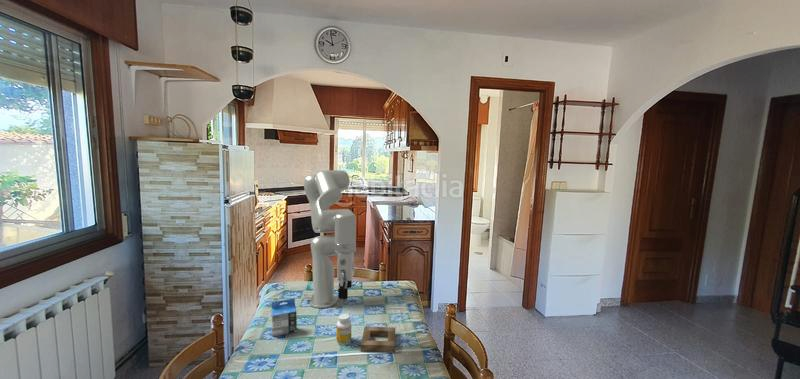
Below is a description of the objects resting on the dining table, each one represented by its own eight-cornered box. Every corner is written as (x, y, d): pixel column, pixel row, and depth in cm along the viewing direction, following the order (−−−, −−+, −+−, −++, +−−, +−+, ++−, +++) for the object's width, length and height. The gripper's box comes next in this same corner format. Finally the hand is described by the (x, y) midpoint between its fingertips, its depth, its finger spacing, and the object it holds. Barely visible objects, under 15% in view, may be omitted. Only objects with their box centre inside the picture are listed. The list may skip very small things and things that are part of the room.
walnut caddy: (360, 351, 115) (360, 344, 115) (364, 332, 127) (364, 326, 126) (394, 352, 115) (394, 345, 115) (395, 333, 127) (395, 327, 126)
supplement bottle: (337, 337, 123) (337, 312, 122) (351, 336, 124) (351, 312, 123) (335, 345, 118) (335, 320, 117) (350, 345, 118) (350, 319, 117)
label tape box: (272, 337, 122) (271, 306, 121) (271, 332, 126) (271, 301, 124) (296, 332, 126) (296, 302, 125) (295, 327, 130) (295, 297, 128)
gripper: (352, 254, 109) (352, 303, 110) (358, 241, 126) (358, 283, 127) (329, 254, 108) (330, 303, 110) (339, 240, 126) (339, 283, 127)
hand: (345, 292), depth 119 cm, fingers open, 9 cm apart
